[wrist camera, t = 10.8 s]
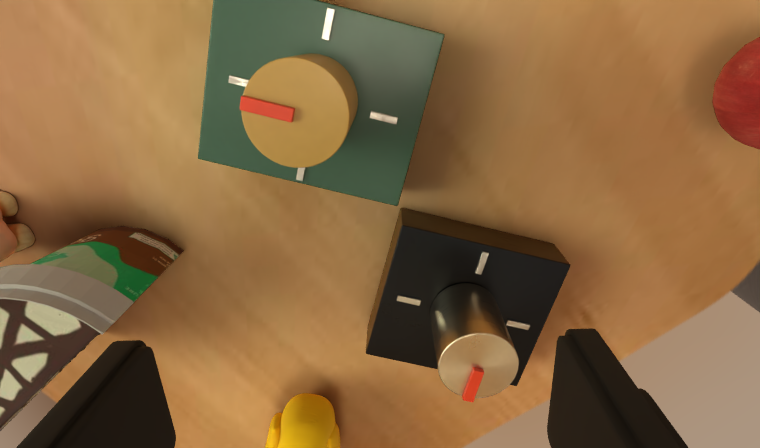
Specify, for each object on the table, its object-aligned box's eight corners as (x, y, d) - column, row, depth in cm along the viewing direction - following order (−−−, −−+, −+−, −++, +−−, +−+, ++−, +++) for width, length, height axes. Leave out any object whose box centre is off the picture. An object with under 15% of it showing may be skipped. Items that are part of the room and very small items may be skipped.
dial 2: (440, 276, 27) (451, 329, 22) (506, 290, 27) (532, 345, 22) (423, 333, 28) (429, 394, 23) (485, 345, 29) (505, 409, 24)
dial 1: (366, 66, 23) (360, 73, 18) (347, 152, 24) (336, 181, 19) (278, 43, 22) (246, 44, 17) (264, 132, 24) (232, 156, 19)
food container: (120, 166, 28) (-16, 229, 19) (198, 236, 30) (110, 326, 20) (12, 286, 31) (-149, 390, 22) (88, 343, 33) (-32, 462, 24)
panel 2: (554, 243, 29) (572, 266, 26) (506, 357, 32) (517, 388, 30) (400, 206, 29) (402, 226, 26) (367, 326, 32) (365, 355, 29)
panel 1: (438, 34, 25) (445, 34, 22) (397, 190, 28) (397, 207, 25) (235, -20, 24) (214, -28, 21) (216, 146, 27) (196, 159, 24)
